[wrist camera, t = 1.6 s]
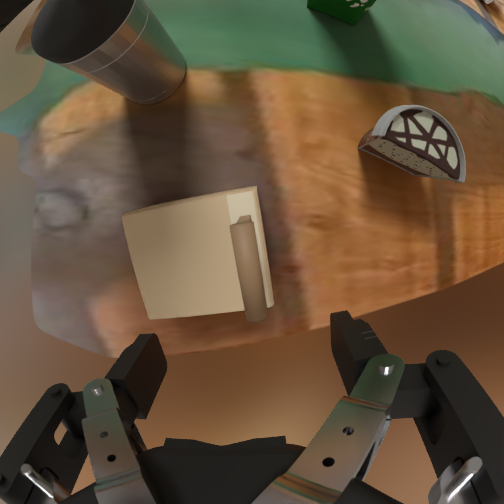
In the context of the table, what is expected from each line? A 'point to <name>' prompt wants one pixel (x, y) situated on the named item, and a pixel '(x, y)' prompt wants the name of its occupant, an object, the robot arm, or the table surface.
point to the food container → (417, 143)
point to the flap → (200, 258)
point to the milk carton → (342, 8)
